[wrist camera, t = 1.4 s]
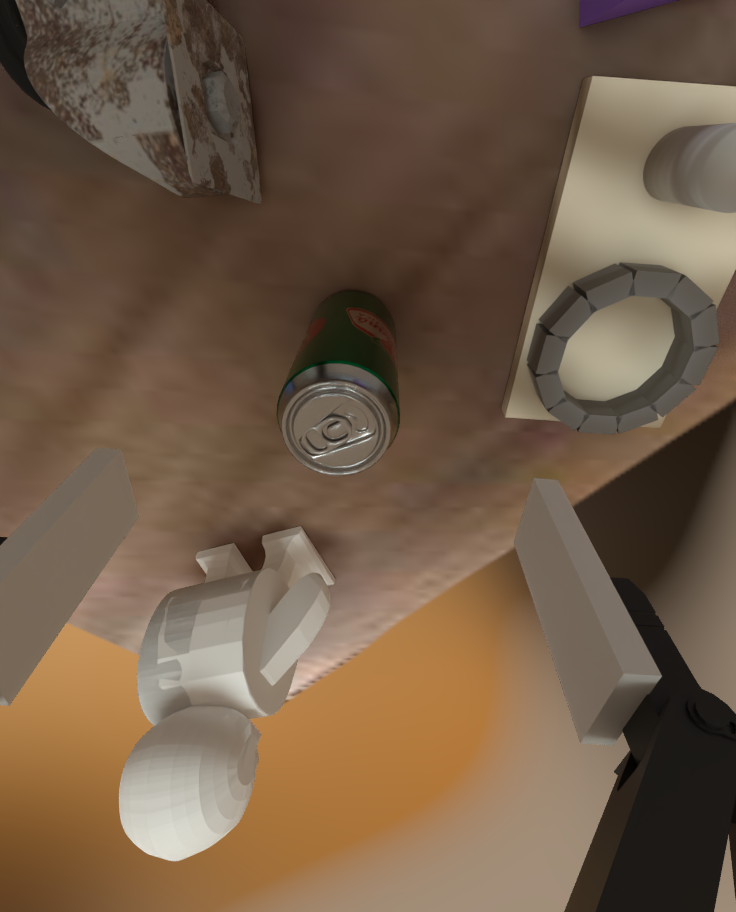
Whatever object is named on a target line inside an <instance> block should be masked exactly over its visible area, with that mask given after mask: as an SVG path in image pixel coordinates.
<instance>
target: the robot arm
mask: <svg viewBox="0 0 736 912" xmlns="http://www.w3.org/2000/svg"><path fill="white" fill-rule="evenodd" d="M138 517H139V513H138V510H137V506H136V502H135V499H134V495H133V491H132V488H131V484H130V480H129V476H128V473H127V469H126V465H125V462H124V458H123V454H122V451H121V450H120V449H106V448H96V449H95V450H94V451H93V452H92V453H91V454H90V455H89V456H88V457H87V459H86V460H85V461H84V462H83V463H82V464H81V465H80V466H79V467H78V468H77V469H76V470H75V471H74V472H73V473H72V474H71V475H70V476H69V477H68V478H67V479H66V480H65V481H64V482H63V483H62V484H61V485H60V486H59V487H58V488H57V489H56V490H55V491H54V492H53V493H52V494H51V495H50V496H49V497H48V498H47V499H46V500H45V501H44V502H43V503H42V504H41V505H40V506H39V507H38V508H37V509H36V510H35V511H34V512H33V513H32V514H31V515H30V516H29V517H28V518H27V519H26V520H25V521H24V522H23V523H22V524H21V525H20V526H19V527H18V528H17V529H16V530H15V531H14V532H13V533H12V534H11V535H10V536H9V537H8V538H7V537H0V705H10V704H11V703H12V701H13V700H14V698H15V697H16V695H17V694H18V692H19V691H20V690H21V688H22V687H23V685H24V684H25V682H26V681H27V679H28V678H29V676H30V675H31V673H32V672H33V671H34V669H35V668H36V666H37V665H38V663H39V662H40V660H41V659H42V657H43V656H44V654H45V653H46V651H47V650H48V649H49V647H50V646H51V644H52V643H53V641H54V640H55V638H56V637H57V636H58V634H59V633H60V631H61V630H62V628H63V627H64V625H65V624H66V622H67V621H68V619H69V618H70V617H71V615H72V614H73V612H74V611H75V609H76V608H77V606H78V605H79V603H80V602H81V601H82V599H83V598H84V596H85V595H86V593H87V592H88V590H89V589H90V587H91V586H92V584H93V583H94V582H95V580H96V579H97V577H98V576H99V574H100V573H101V571H102V570H103V568H104V567H105V566H106V564H107V563H108V561H109V560H110V558H111V557H112V555H113V554H114V552H115V551H116V549H117V548H118V547H119V545H120V544H121V542H122V541H123V539H124V538H125V536H126V535H127V533H128V532H129V531H130V529H131V528H132V526H133V525H134V523H135V522H136V520H137V519H138ZM514 545H515V548H516V551H517V553H518V557H519V559H520V562H521V566H522V569H523V571H524V575H525V578H526V581H527V584H528V587H529V589H530V593H531V595H532V599H533V601H534V605H535V608H536V611H537V614H538V617H539V620H540V623H541V626H542V629H543V632H544V635H545V638H546V641H547V644H548V647H549V650H550V653H551V656H552V659H553V662H554V665H555V668H556V671H557V674H558V677H559V680H560V683H561V686H562V689H563V692H564V695H565V698H566V701H567V704H568V707H569V710H570V713H571V716H572V719H573V722H574V725H575V728H576V731H577V734H578V738H579V741H580V743H587V744H602V745H614V744H615V742H616V741H617V739H618V738H619V737H620V735H621V734H622V732H623V733H624V736H625V738H626V740H627V743H628V745H629V748H630V751H629V752H628V754H627V755H626V756H625V758H624V759H623V761H622V762H621V763H620V764H619V766H618V767H617V769H616V770H615V771H614V772H615V773H616V774H617V775H618V777H617V779H616V782H615V784H614V787H613V790H612V792H611V795H610V797H609V800H608V802H607V805H606V807H605V810H604V812H603V815H602V818H601V820H600V822H599V825H598V828H597V830H596V833H595V835H594V838H593V840H592V843H591V845H590V848H589V850H588V853H587V855H586V858H585V861H584V863H583V866H582V868H581V871H580V873H579V876H578V878H577V881H576V883H575V886H574V888H573V891H572V893H571V896H570V899H569V902H568V904H567V906H566V909H565V911H564V912H714V908H715V903H716V898H717V893H718V887H719V882H720V877H721V871H722V865H723V860H724V854H725V850H726V845H727V839H728V834H729V841H730V850H731V860H732V869H733V879H734V888H735V898H736V714H735V713H734V712H733V711H732V709H731V708H730V707H729V706H728V705H727V704H726V703H724V702H723V701H722V700H720V699H719V698H718V697H716V696H715V695H714V694H712V693H709V692H707V691H705V690H703V689H701V687H700V686H699V685H698V683H697V681H696V680H695V678H694V676H693V675H692V673H691V671H690V670H689V668H688V666H687V664H686V663H685V661H684V660H683V658H682V656H681V655H680V653H679V651H678V649H677V648H676V646H675V644H674V643H673V641H672V639H671V637H670V636H669V634H668V632H667V631H666V630H664V626H663V624H662V622H661V621H660V619H659V617H658V616H656V615H655V610H654V609H653V607H652V605H651V604H650V602H649V601H648V599H647V597H646V595H645V594H644V593H643V592H642V591H641V590H640V589H639V588H638V587H637V586H636V585H634V584H633V583H632V582H631V581H630V580H629V579H626V578H610V577H609V576H608V574H607V572H606V570H605V568H604V566H603V564H602V562H601V560H600V559H599V557H598V555H597V553H596V551H595V549H594V547H593V545H592V543H591V542H590V540H589V538H588V536H587V534H586V532H585V530H584V529H583V526H582V525H581V523H580V521H579V519H578V517H577V515H576V514H575V511H574V510H573V508H572V506H571V504H570V502H569V500H568V498H567V496H566V494H565V493H564V491H563V489H562V487H561V485H560V483H559V481H558V480H553V479H538V478H534V479H533V482H532V485H531V489H530V492H529V495H528V498H527V501H526V504H525V508H524V511H523V514H522V517H521V520H520V523H519V527H518V530H517V533H516V536H515V539H514Z"/></svg>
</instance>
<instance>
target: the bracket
mask: <svg viewBox="0 0 736 912" xmlns="http://www.w3.org/2000/svg"><path fill="white" fill-rule="evenodd" d="M674 1H678V0H580V20H579V28H581V27H584V26H588V25H591V24H595V23H599V22H602V21H606V20H609V19H613V18H617V17H620V16H624V15H628V14H631V13H635V12H638V11H642V10H646V9H649V8H653V7H656V6H660V5H664V4H667V3H671V2H674Z"/></svg>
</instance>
